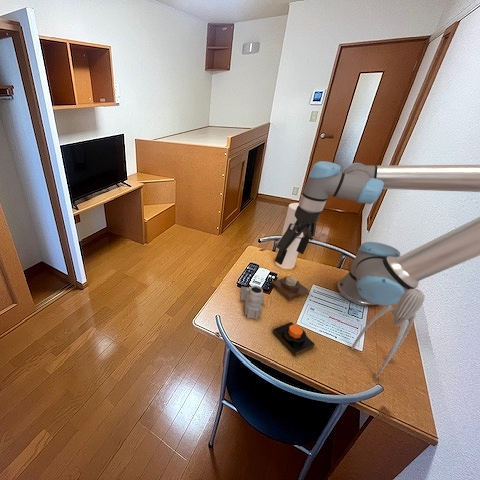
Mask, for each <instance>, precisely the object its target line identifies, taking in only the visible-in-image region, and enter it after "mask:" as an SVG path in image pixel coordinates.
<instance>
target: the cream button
mask: <svg viewBox="0 0 480 480" xmlns="http://www.w3.org/2000/svg"><path fill="white" fill-rule="evenodd" d="M289 276H290V277H288V276H286V277H287V278H286V284H287V285H290V286H295V285H296V283H297V281H298V279H297V278H296V277H294V276H292V275H289Z"/></svg>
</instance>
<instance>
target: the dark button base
mask: <svg viewBox="0 0 480 480" xmlns="http://www.w3.org/2000/svg"><path fill="white" fill-rule="evenodd" d="M291 325H295V324H294V323H293V322H292V321H289V322H288V323H285V324H283V325H280V326H278V327H275V328H273V330H272V335H274V337H275V338H276V339H277V340H278V341H279V342H280V343H281V344H282V346H284V347H285V349H287V351H289V353H291V355H292V356H293V357H296V356H299V355H301V354H303V353H305V352H308V351H310V350H312V349H314V347H315V345H316V344H315V342H313V341H312V340H311V339H310V338H309V337H308V336H307V333H306V331H305V330H304V328H302V327H301V329H302V330H303V333H302V335H301V337H300V338H294V337H291V336H290V335H289V333H288V330H289V327H290V326H291Z"/></svg>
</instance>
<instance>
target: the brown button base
mask: <svg viewBox="0 0 480 480" xmlns="http://www.w3.org/2000/svg"><path fill="white" fill-rule="evenodd" d="M290 276H291V275H288V276H285V277H282V278H279V279H276V280H273V281H271V283H270V286H271V287H272V288H273V289H274V290H275V291H276V292H278V293H279V294H280V295H281V296H282V297H283V298H284V299H286V300H287V301H288V302H289V301H291V300H294V299H298V298H300V297H302V296H305V295H308V293H309V289H308V288H307V287H306V286H304V285H303V284H301V283H300V281H299V280H297V283H296V285H295V286H290V285H287V284H286V278H287V277H290Z"/></svg>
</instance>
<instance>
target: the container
mask: <svg viewBox="0 0 480 480" xmlns="http://www.w3.org/2000/svg"><path fill="white" fill-rule="evenodd" d="M297 206H299V202H291V203H290V204H288V207H287V211H286V216H285V220H284V225H283V227H282V231H281V236H280V239H281V238H282V237H283V235H284V234H285V232H286V230H287V229H288V227H289V224H290V223H292V224H294V223H295V222H296V221H297V219H296V217H295V215H294V214H295V211H296V209H297ZM297 233H298V232H297ZM302 237H304V235H303V232H302V233H301V234H300V236H297V237H296V238H295V240H294V241H293V242H292V243H291V245H290V246H289V247H288V248H287V249H286V250H287V253H286V255H285V258H284V261H283V263H282V265H280V264H279V263H277V262H276V261H275V260H274V263H275V265H276V266H277V267H279V268H281V269H284V270H292V269H294V268H295V265H296V261H297V259H298V255H299V252H297V251H296V250H297V248H298V245H299V243H300V241H301V238H302ZM278 251H279V249H278V248H277V253H278ZM277 253H276V254H277Z"/></svg>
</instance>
